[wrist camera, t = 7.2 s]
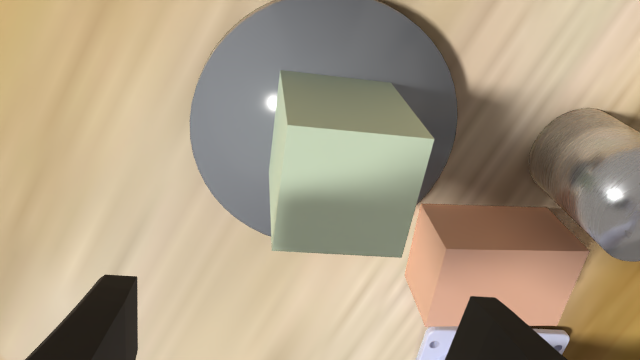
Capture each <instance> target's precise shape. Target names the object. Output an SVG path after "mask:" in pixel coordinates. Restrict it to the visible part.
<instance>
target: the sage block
mask: <svg viewBox="0 0 640 360" xmlns="http://www.w3.org/2000/svg"><path fill="white" fill-rule="evenodd" d="M433 143H434V138H433V137H432V135H431V134H430V133H429V131H428V130H427V129H426V127H425V126H424V125H423V124H422V122H421V121H420V120H419V118H418V117H417V116H416V114H415V113H414V112H413V111H412V109H411V108H410V107H409V105H408V104H407V103H406V102H405V100H404V99H403V98H402V96H401V95H400V94H399V92H398V91H397V90H396V89H395V87H394V86H393V85H392V83H389V82H380V81H371V80H363V79H354V78H345V77H337V76H328V75H319V74H310V73H302V72H293V71H284V70H280V75H279V84H278V93H277V102H276V111H275V120H274V129H273V138H272V147H271V156H270V165H269V191H270V216H271V242H272V251H287V252H305V253H324V254H343V255H362V256H381V257H400V258H402V254H403V250H404V247H405V243H406V240H407V236H408V232H409V229H410V225H411V222H412V218H413V215H414V211H415V207H416V204H417V200H418V197H419V193H420V189H421V186H422V182H423V179H424V175H425V171H426V168H427V164H428V161H429V157H430V154H431V150H432V146H433Z"/></svg>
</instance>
